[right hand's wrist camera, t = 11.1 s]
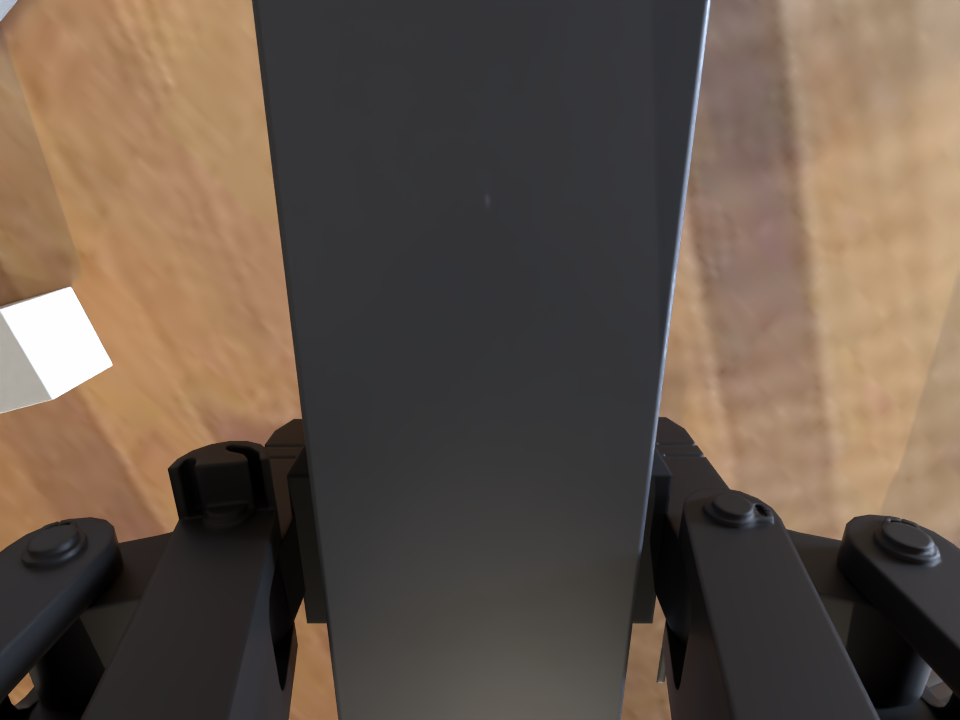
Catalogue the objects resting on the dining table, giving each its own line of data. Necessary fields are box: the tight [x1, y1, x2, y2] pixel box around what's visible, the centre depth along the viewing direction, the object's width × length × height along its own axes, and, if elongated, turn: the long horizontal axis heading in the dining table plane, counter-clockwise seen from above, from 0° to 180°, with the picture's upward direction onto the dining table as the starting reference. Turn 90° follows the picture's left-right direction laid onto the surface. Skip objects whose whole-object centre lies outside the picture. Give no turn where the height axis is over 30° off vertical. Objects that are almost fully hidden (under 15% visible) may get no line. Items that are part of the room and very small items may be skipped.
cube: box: [0, 287, 112, 413], centre depth 24 cm, size 4×4×4 cm
